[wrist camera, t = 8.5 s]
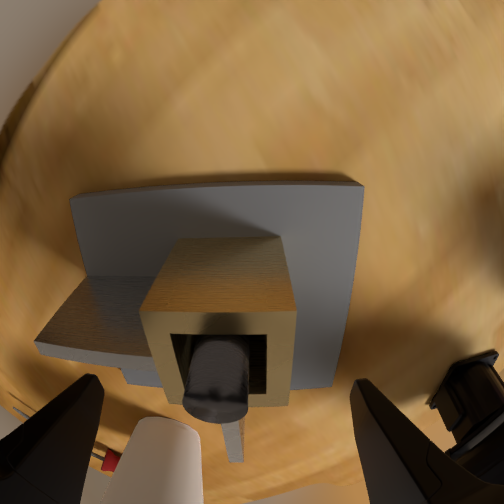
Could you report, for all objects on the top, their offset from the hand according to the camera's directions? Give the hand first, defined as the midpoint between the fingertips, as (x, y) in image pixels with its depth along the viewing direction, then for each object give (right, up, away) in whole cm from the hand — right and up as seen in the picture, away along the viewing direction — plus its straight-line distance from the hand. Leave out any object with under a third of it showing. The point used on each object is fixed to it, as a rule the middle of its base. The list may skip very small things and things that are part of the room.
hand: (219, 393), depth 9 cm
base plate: (-1, +2, +8) cm, 8 cm away
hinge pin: (0, +3, +6) cm, 7 cm away
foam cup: (-7, -13, +15) cm, 21 cm away
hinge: (-3, 0, +8) cm, 8 cm away
